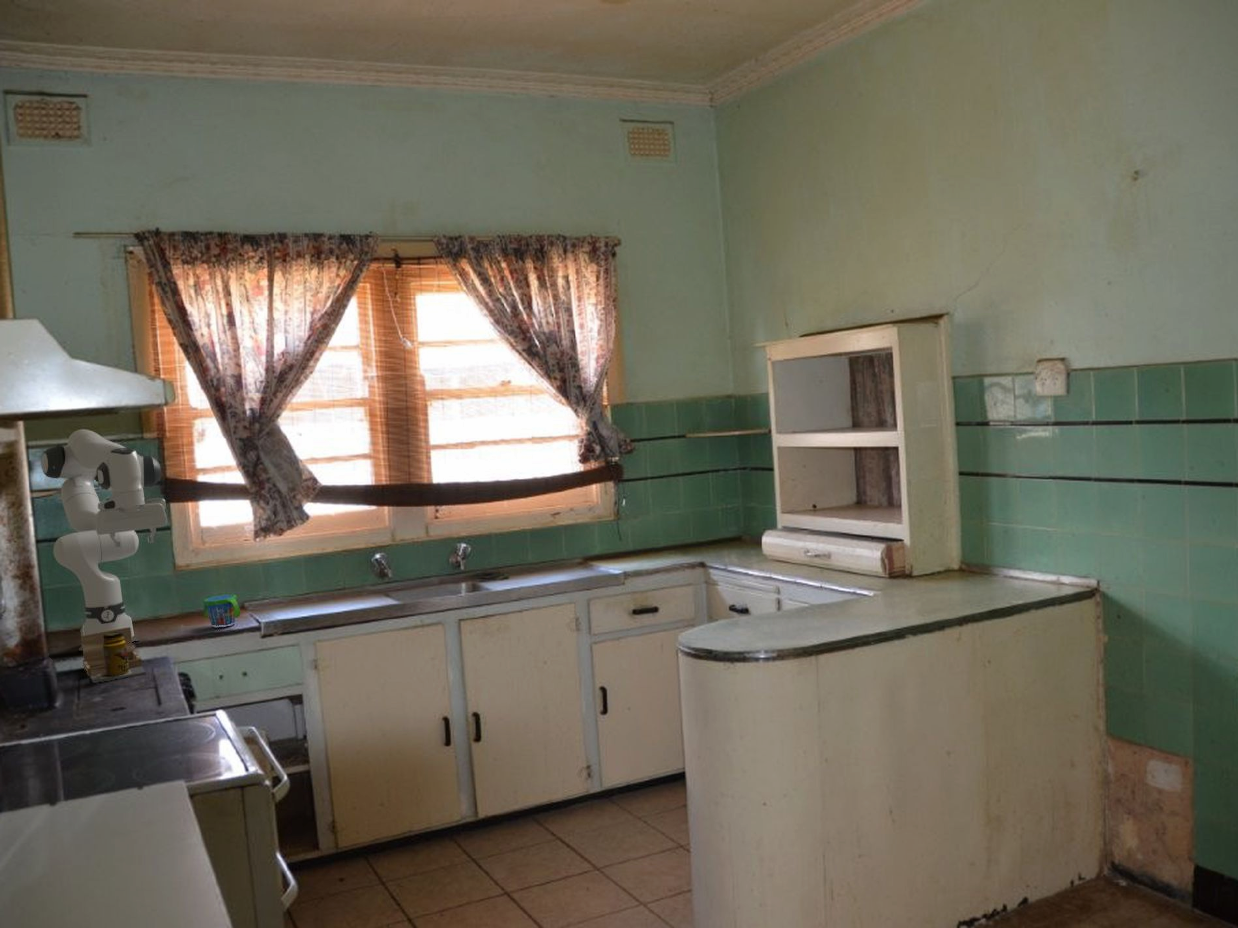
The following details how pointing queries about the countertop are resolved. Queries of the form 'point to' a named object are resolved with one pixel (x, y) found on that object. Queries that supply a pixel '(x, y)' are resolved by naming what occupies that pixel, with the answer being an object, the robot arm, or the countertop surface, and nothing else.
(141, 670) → the mat
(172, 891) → the countertop surface
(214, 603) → the snack cup
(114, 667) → the condiment
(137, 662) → the carton
